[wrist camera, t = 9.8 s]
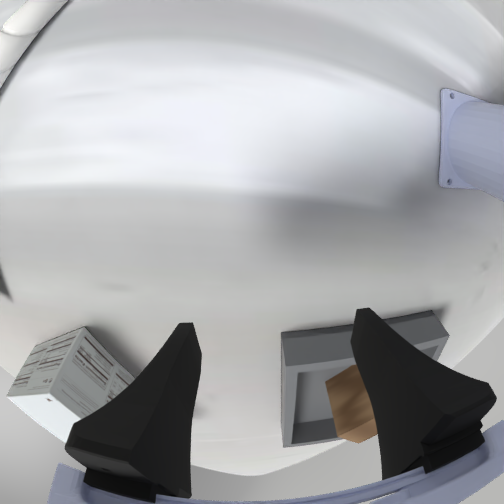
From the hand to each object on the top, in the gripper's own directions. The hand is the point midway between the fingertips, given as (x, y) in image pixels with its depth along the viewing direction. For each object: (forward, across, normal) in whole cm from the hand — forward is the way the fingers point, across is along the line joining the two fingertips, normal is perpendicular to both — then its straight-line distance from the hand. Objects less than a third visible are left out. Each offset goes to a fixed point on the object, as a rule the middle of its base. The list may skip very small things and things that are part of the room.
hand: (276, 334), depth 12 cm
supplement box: (+10, +22, +18) cm, 30 cm away
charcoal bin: (+9, -9, +18) cm, 22 cm away
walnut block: (+9, -9, +17) cm, 21 cm away
